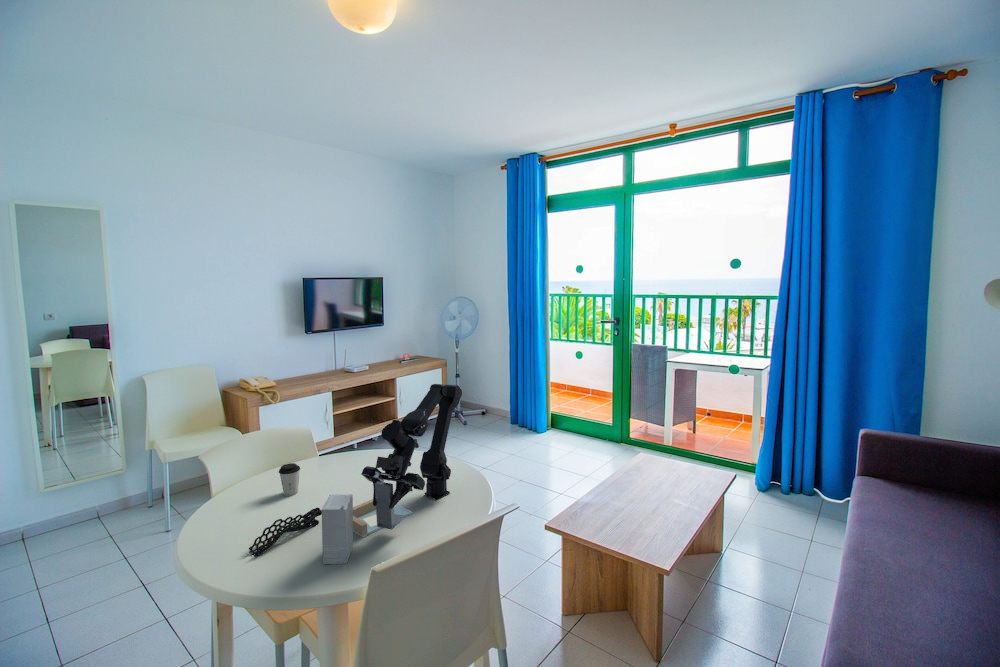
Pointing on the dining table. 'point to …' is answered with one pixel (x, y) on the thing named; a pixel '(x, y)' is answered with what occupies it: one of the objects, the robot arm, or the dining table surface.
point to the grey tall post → (385, 506)
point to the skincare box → (337, 529)
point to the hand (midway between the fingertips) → (382, 507)
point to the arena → (371, 517)
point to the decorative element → (285, 529)
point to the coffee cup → (290, 478)
